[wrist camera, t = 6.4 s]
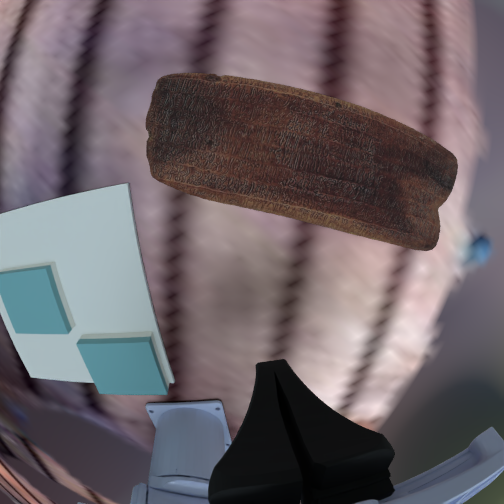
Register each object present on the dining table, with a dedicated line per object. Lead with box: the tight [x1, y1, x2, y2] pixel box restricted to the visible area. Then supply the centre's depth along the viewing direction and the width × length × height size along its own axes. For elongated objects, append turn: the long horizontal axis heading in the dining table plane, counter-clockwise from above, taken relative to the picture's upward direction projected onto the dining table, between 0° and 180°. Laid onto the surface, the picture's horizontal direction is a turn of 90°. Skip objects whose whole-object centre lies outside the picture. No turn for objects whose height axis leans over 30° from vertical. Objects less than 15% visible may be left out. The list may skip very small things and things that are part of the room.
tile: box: [0, 262, 75, 334], centre depth 20 cm, size 6×2×7 cm
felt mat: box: [0, 183, 175, 383], centre depth 21 cm, size 18×18×1 cm
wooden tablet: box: [146, 73, 458, 251], centre depth 20 cm, size 26×2×10 cm
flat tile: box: [76, 331, 169, 395], centre depth 23 cm, size 6×7×2 cm
